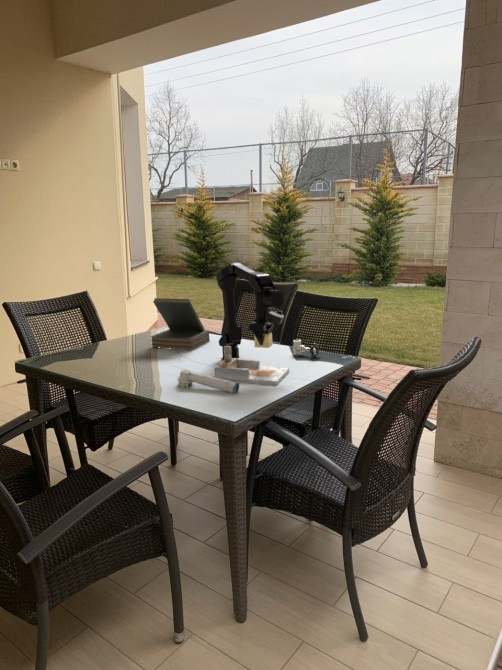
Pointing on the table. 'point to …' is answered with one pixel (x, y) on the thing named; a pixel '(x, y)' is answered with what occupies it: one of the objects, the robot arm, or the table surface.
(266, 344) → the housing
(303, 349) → the valve
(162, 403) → the table surface
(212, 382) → the beige flashlight
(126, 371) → the table surface
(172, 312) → the hinged lid box
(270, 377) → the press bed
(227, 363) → the ram
